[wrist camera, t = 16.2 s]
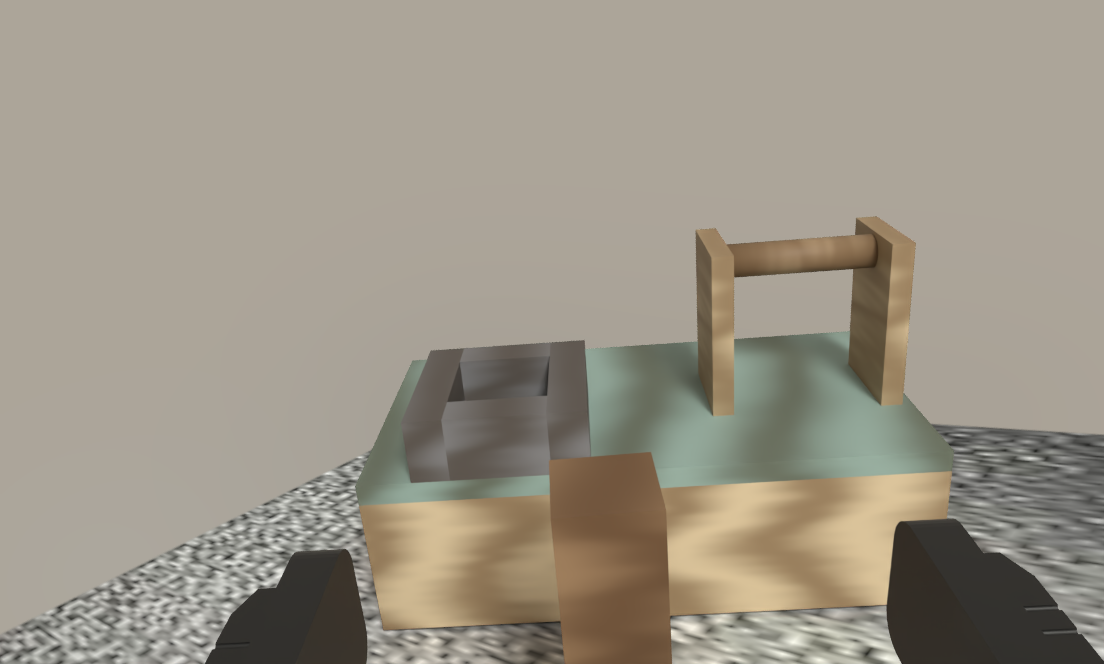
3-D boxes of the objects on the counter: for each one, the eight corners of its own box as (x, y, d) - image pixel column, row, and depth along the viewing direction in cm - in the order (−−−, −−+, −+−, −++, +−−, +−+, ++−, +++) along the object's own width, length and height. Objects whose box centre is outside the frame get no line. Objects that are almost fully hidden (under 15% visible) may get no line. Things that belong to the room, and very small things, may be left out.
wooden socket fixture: (383, 630, 39) (321, 318, 33) (430, 475, 52) (392, 231, 46) (937, 602, 38) (973, 272, 32) (843, 450, 51) (857, 196, 45)
